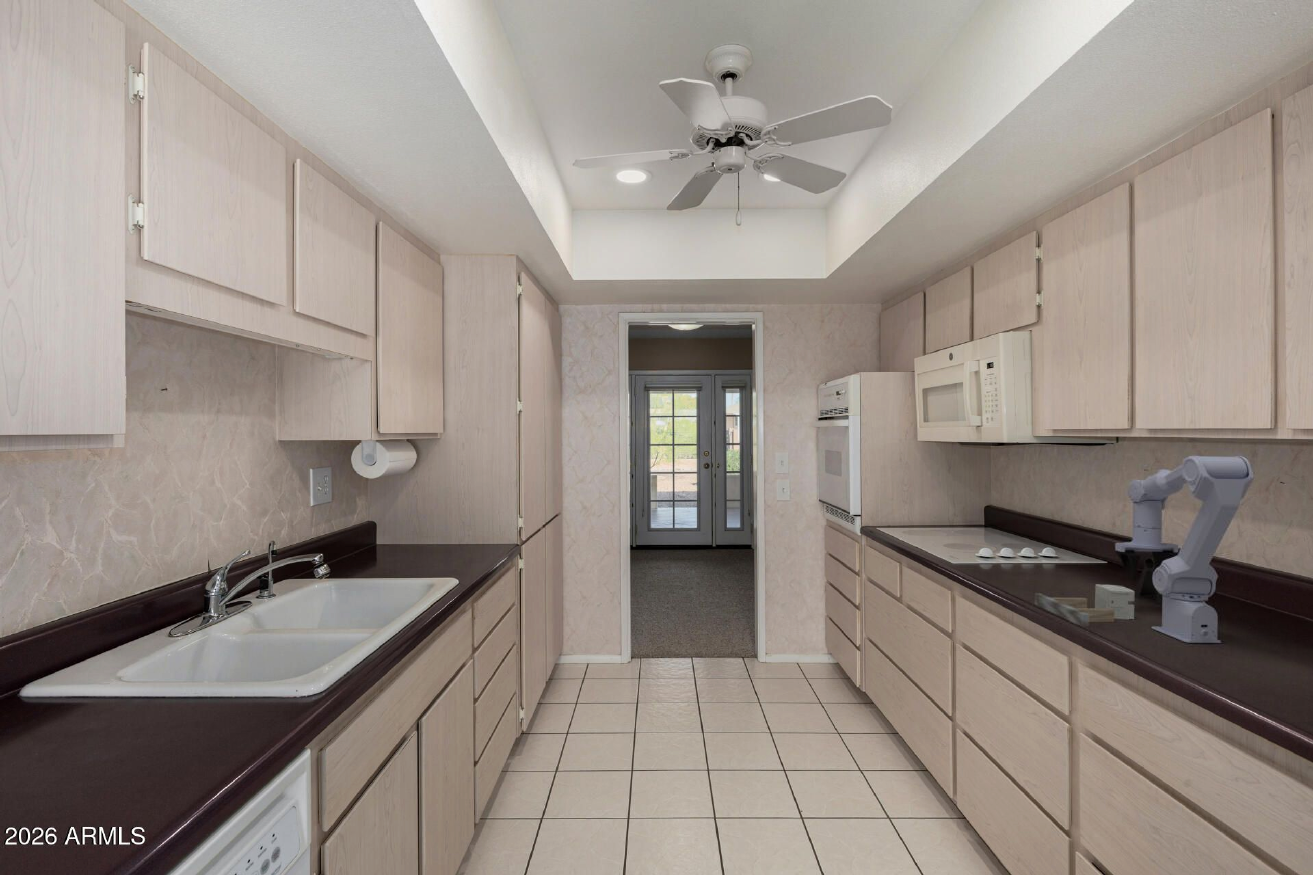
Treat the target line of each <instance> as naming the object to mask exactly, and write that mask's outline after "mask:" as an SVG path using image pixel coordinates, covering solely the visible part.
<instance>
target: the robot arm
mask: <svg viewBox="0 0 1313 875" xmlns="http://www.w3.org/2000/svg"><path fill="white" fill-rule="evenodd" d="M1254 479H1255V476H1254V472H1253V467H1252V465H1251V462H1250V461H1249V460H1248V459H1247V458H1246V457H1244V456H1241V455H1237V456H1208V455H1207V456H1202V455H1200V456H1199V455H1189V456H1187V457H1186V458H1183V459H1182V460H1181V464H1180V465H1179V466H1178V467H1176V468H1175V469H1173V470H1169V469H1163V468H1162V469H1159V470H1157V473H1155V474H1152V475H1148V476H1147V477H1146V478H1145V479H1143V480H1139V479H1137V478H1135V479H1134V478H1133V479H1132V480H1131V481H1130V482H1129V483H1128V487H1127V495H1128V497H1129V500H1131V502H1132V503H1133V504H1132V540H1131V541H1126V542H1116V543H1115V544H1114V548H1115V552H1116V555H1117V556H1118V558H1119V560H1120V562H1121V564H1122V566H1123V568H1124V571H1125V575H1126V579H1128V580H1132V581H1136V580H1137V576H1138V567H1139V566H1138V565H1139V563H1140V559H1141V558H1142V555H1141V554H1138V553H1136V552H1151V554H1152V556H1153V557H1152V558H1154V562H1155V571H1154V573H1153V577H1152V580H1153V584H1154V587H1155V588H1156V589H1157V591H1158V592H1159V593H1160V594H1162V595H1163V599H1162V607H1161V608H1162V609H1161V611H1162V612H1161V613H1162V614H1161V626H1155V625H1154V626H1151V629H1152V630H1154V631H1158V633H1159V632H1160V633H1162V634H1164V635H1166V636H1169V637H1172V638H1174V639H1177V640H1178V641H1182V642H1184V643H1188V644H1190V643H1191V644H1192V643H1193V644H1194V643H1199V644H1203V643H1204V644H1207V643H1208V644H1210V643H1211V644H1221V643H1222V641H1221V640H1220V639H1218V621H1219V620H1218V613H1217V611H1216V609H1215V608H1214V607H1212V606H1211V605H1209V604H1207V603H1206V601H1209V597H1211V596H1213V595H1214V593H1215V591H1216V585H1217V584H1216V583H1217V579H1218V578H1219V575H1218V574H1217V572H1216V569H1214V567H1213V566H1212V565H1210V563H1211V561H1212V559H1213V558H1214V555H1215V553H1216V551H1217V549H1218V547H1219V546H1220V544H1221V542H1222V540H1223V538H1224V536H1225V534H1226V532H1227V530H1228V528H1229V526H1230V525H1231V522H1232V521H1233V519H1234V517H1235V515H1236V513H1237V511H1238V509H1239V507H1240V503H1241V500H1243V499H1244V498H1245V496H1246V494H1247V492H1248V490H1249V489H1250V486H1251V484H1252V482H1253V481H1254ZM1185 484H1187V486H1188V488H1189V491H1190V493H1191V495H1192V496H1193V498H1194V499H1195V498H1196V499H1197V500H1199V501H1201V502H1202V504H1201V506H1200V508H1199V510H1198V512H1197V514H1196V516H1195V518H1194V520H1193V522H1192V525H1191V527H1189V528H1190V529H1189V531H1188V532H1187V535H1186V536H1185V539H1184V541H1183V543H1182V545H1181V548H1180V550H1179V544H1176V543H1172V542H1170V543H1169V542H1167V543H1166V542H1162V537H1163V536H1162V534H1163V533H1162V532H1163V530H1162V529H1163V528H1162V526H1163V523H1162V522H1163V511H1164V510H1165V508H1166V502H1167V500H1168V498H1169V496H1171V495H1173V494H1176V493H1178V492H1180V491H1182V489H1183V487H1184V485H1185Z"/></svg>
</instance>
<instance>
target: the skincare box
mask: <svg viewBox="0 0 1313 875" xmlns="http://www.w3.org/2000/svg"><path fill="white" fill-rule="evenodd" d="M1094 589H1095V590H1094V591H1095V592H1094V593H1095V595H1094V608H1108V609H1113V610H1114V620H1115V619H1117V620H1129V619H1133V620H1134V619H1135V597H1134V596H1135V592H1134V591H1135V590H1133V589H1131V588H1127V587H1125V586H1123V585H1117V584H1116V585H1115V584H1100V583H1099V584H1098V583H1096V584H1095V587H1094Z"/></svg>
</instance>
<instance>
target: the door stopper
mask: <svg viewBox="0 0 1313 875" xmlns="http://www.w3.org/2000/svg"><path fill="white" fill-rule="evenodd" d="M1143 564H1144V567H1143V570H1142V572H1141V574H1140V576H1139V577H1140V578H1139V580H1138V581H1137V584H1136V586H1135V590H1133V591H1134V592H1135V596H1134V598H1138V599H1142V600H1145V601H1148V600H1149V602H1151V603H1155V604H1158V605H1161V604H1162V599H1163V595H1162V594H1160V593H1159V592H1158V591H1157V589H1156V588H1155V587H1154V584H1153V580H1152V577H1153V573H1154V571H1155V562H1154V557H1147V558H1145V559H1144V561H1143Z"/></svg>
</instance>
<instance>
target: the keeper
mask: <svg viewBox="0 0 1313 875" xmlns="http://www.w3.org/2000/svg"><path fill="white" fill-rule="evenodd" d="M1034 605H1035V606H1038V607H1040V608H1042V609H1044V610H1046V611H1048V612H1050V613H1052V614H1055V615H1057V616H1059V617H1061V618H1063V619H1065V620H1067V621H1069V622H1071V623H1074V624H1075V625H1078V626H1080V627H1081V628H1085V627H1086V628H1090V623H1092V622H1093V623H1114V622H1115V619H1114V610H1113V609H1108V608H1095V607H1094V608H1092V607H1091V608H1090V607H1089V608H1088V598H1085V597H1052V596H1051V597H1050V596H1048V595H1046V594H1043V593H1037V592H1036V593H1034Z"/></svg>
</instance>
